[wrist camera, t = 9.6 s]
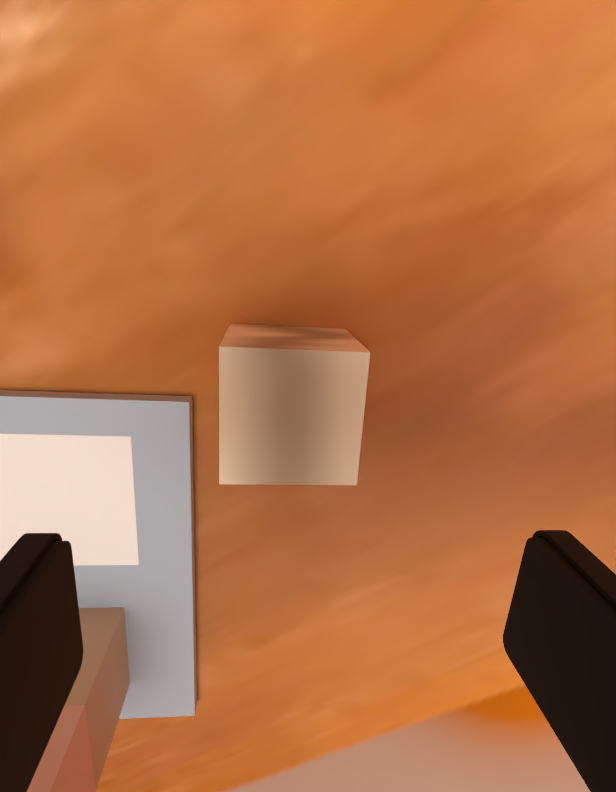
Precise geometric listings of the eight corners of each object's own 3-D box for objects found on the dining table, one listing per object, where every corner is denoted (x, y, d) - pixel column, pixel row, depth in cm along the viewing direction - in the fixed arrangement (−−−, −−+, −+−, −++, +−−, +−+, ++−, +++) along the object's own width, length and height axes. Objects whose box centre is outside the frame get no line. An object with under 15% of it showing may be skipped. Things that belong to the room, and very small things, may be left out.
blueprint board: (192, 396, 24) (163, 451, 17) (197, 701, 30) (177, 826, 24) (-92, 386, 22) (-244, 443, 16) (-22, 709, 29) (-108, 845, 22)
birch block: (344, 328, 23) (370, 352, 18) (336, 433, 25) (356, 485, 20) (230, 323, 23) (219, 346, 17) (230, 430, 25) (219, 484, 19)
